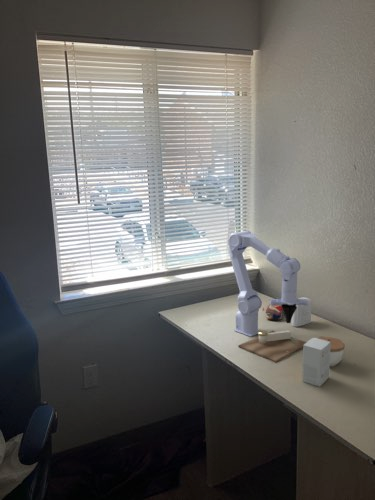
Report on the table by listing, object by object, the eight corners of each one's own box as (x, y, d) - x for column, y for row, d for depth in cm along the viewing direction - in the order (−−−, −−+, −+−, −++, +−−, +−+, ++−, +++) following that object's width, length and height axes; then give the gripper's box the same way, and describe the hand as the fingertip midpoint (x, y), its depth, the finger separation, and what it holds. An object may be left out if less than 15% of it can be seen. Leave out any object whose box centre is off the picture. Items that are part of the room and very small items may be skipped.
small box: (311, 371, 142) (313, 336, 139) (329, 377, 138) (331, 341, 135) (301, 381, 136) (302, 344, 133) (319, 387, 132) (321, 349, 129)
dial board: (238, 347, 163) (238, 344, 162) (272, 332, 177) (272, 329, 177) (275, 362, 149) (275, 359, 149) (309, 344, 163) (309, 342, 163)
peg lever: (260, 344, 162) (260, 334, 161) (256, 340, 166) (256, 331, 165) (291, 340, 166) (292, 330, 165) (287, 336, 169) (287, 327, 168)
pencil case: (293, 311, 203) (293, 301, 202) (278, 323, 187) (278, 313, 186) (272, 307, 209) (272, 297, 208) (256, 319, 193) (256, 309, 192)
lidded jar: (349, 368, 144) (351, 343, 142) (320, 370, 143) (322, 345, 141) (334, 354, 155) (335, 331, 153) (307, 357, 153) (308, 333, 151)
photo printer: (304, 320, 190) (305, 294, 188) (312, 323, 186) (313, 297, 184) (289, 325, 184) (290, 299, 182) (296, 328, 181) (297, 301, 178)
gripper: (272, 292, 156) (271, 326, 159) (310, 292, 156) (309, 325, 159) (269, 287, 163) (268, 319, 166) (305, 287, 163) (304, 319, 165)
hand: (288, 322), depth 163 cm, fingers closed
